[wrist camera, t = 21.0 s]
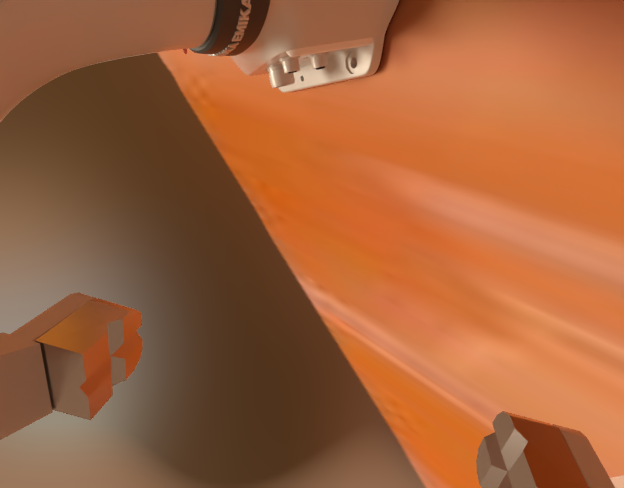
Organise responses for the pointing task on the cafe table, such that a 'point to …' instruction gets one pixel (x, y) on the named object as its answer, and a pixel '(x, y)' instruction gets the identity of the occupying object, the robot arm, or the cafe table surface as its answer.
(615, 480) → the cream tilted cube
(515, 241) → the cafe table surface
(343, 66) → the robot arm
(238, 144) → the cafe table surface
